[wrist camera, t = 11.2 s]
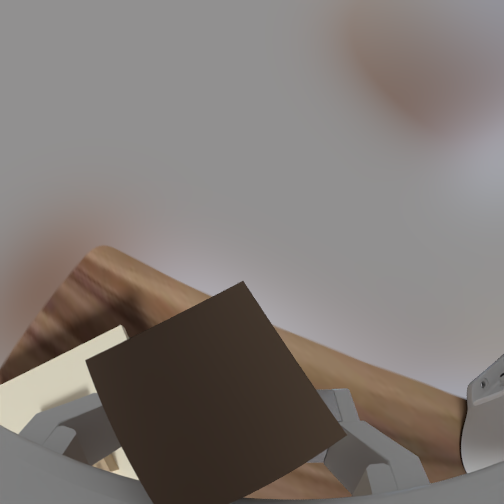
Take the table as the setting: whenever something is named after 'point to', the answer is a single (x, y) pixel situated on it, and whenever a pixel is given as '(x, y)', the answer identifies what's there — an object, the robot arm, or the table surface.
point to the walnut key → (211, 403)
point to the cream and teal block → (60, 391)
